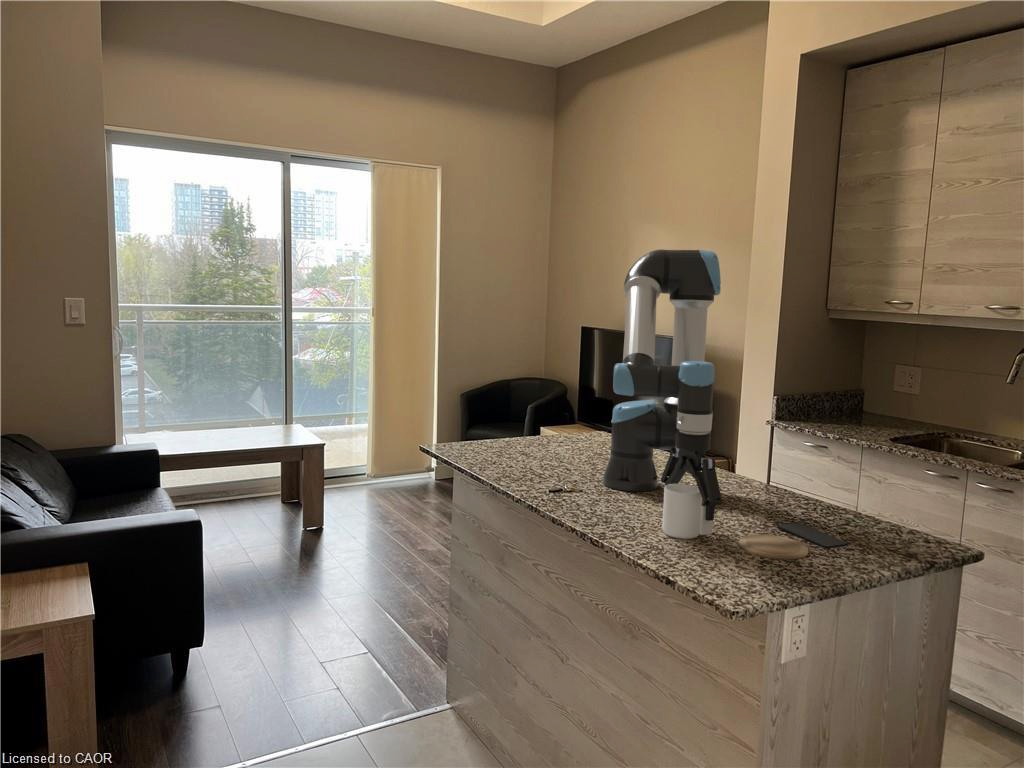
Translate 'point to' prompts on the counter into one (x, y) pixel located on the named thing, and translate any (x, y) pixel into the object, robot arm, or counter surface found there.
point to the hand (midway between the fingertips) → (687, 524)
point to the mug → (681, 511)
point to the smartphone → (812, 535)
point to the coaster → (773, 546)
